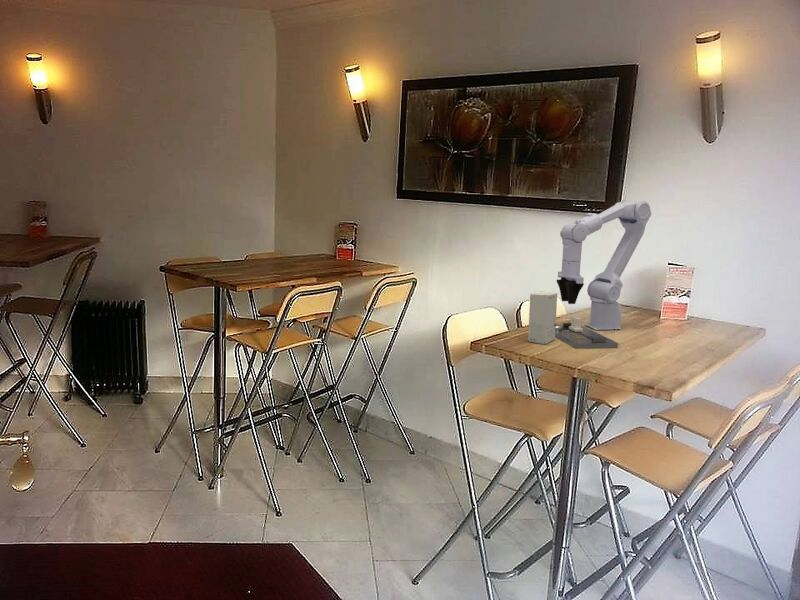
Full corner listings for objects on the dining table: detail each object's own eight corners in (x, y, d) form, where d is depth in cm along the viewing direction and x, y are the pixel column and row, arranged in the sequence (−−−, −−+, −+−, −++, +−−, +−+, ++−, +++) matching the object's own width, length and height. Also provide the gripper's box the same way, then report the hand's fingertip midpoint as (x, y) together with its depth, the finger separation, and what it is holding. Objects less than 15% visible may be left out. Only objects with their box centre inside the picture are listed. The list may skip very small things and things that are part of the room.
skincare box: (545, 345, 176) (549, 295, 173) (526, 341, 179) (529, 293, 176) (555, 339, 183) (558, 291, 180) (536, 336, 186) (539, 289, 183)
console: (582, 330, 196) (583, 322, 195) (617, 347, 174) (618, 338, 174) (545, 331, 193) (545, 322, 193) (576, 348, 172) (576, 338, 172)
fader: (576, 328, 191) (577, 316, 190) (582, 331, 187) (583, 318, 186) (568, 328, 191) (569, 316, 190) (575, 331, 186) (576, 319, 186)
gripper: (550, 258, 198) (547, 298, 200) (569, 263, 183) (566, 306, 186) (570, 258, 199) (567, 298, 201) (591, 263, 185) (587, 306, 187)
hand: (568, 302), depth 194 cm, fingers open, 4 cm apart
